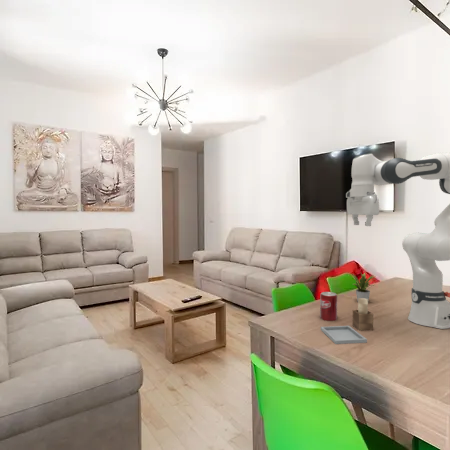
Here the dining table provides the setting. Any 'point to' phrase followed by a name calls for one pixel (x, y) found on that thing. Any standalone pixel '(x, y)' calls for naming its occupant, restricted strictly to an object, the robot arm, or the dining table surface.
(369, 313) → the brown wooden box
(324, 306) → the soda can
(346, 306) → the dining table surface
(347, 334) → the tray
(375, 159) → the robot arm
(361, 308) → the dowel
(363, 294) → the house plant
